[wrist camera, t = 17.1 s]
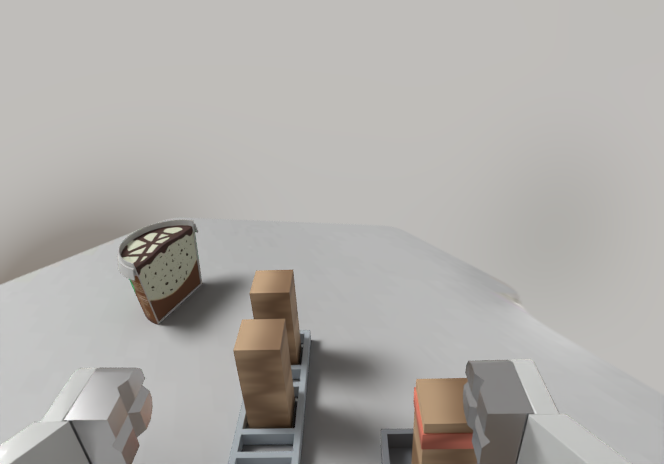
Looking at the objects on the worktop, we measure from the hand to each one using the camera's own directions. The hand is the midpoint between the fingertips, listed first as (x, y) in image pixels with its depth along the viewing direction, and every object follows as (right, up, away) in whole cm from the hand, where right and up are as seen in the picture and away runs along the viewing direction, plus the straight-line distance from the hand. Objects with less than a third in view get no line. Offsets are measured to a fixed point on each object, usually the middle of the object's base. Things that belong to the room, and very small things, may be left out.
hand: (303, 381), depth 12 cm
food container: (-23, -6, +53) cm, 58 cm away
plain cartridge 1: (-5, -11, +42) cm, 44 cm away
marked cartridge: (+10, -18, +27) cm, 34 cm away
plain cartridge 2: (-5, -15, +35) cm, 39 cm away
